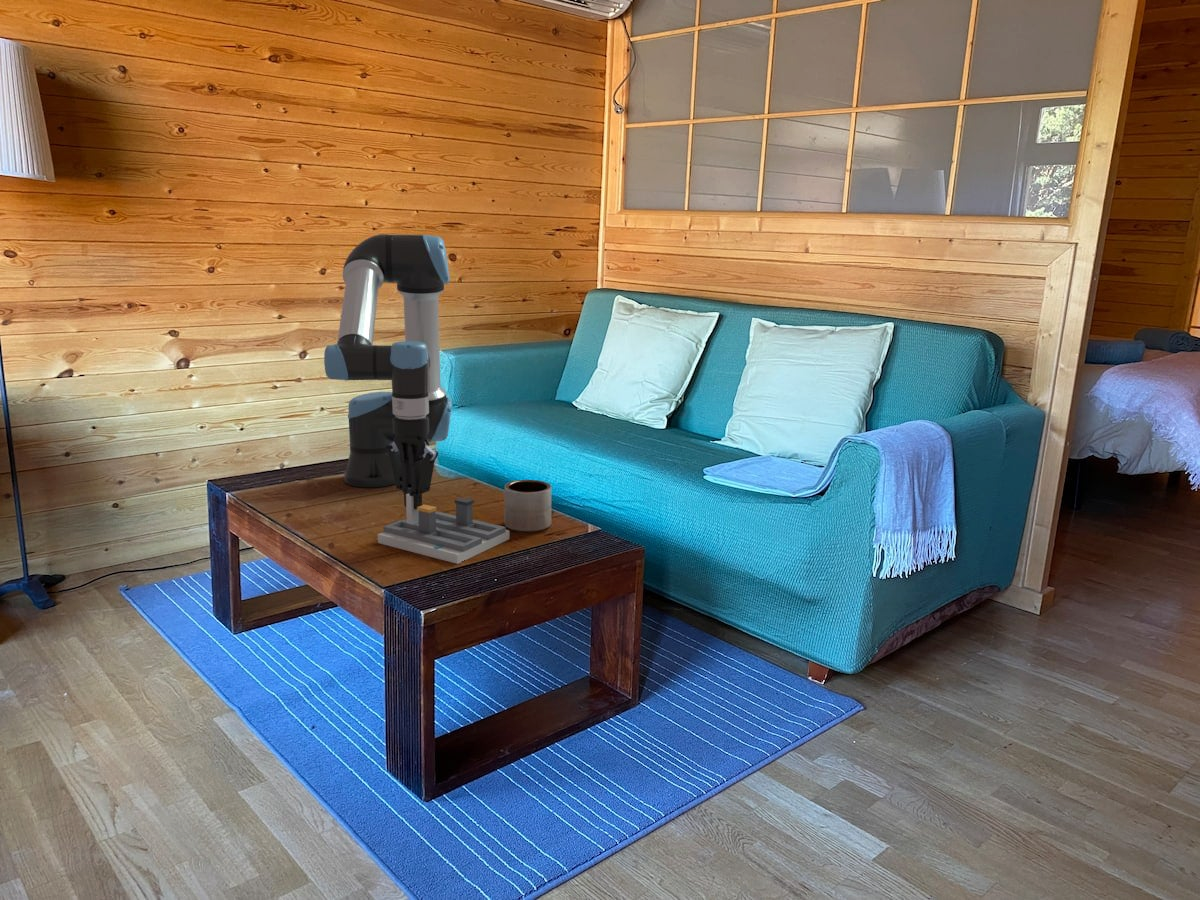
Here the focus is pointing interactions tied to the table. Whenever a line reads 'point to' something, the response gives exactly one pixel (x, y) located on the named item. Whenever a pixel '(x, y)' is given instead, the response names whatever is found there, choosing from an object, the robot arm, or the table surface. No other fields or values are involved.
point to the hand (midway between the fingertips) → (413, 522)
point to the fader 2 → (464, 512)
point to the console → (444, 538)
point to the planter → (527, 505)
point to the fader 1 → (427, 519)
